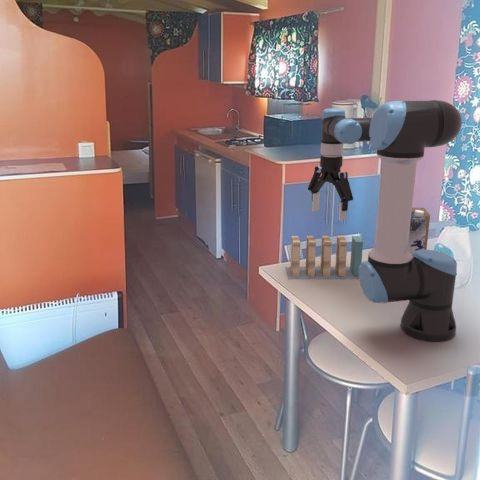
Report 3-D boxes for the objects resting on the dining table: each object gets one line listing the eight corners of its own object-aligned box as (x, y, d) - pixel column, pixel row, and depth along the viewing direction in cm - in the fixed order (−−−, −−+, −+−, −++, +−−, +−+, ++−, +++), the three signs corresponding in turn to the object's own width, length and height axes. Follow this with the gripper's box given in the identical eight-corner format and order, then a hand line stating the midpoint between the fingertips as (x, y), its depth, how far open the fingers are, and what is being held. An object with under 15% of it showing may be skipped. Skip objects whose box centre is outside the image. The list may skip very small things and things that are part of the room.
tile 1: (299, 276, 200) (300, 242, 196) (292, 276, 200) (293, 242, 196) (297, 269, 207) (298, 236, 203) (290, 269, 207) (291, 236, 203)
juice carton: (392, 291, 189) (399, 213, 180) (392, 279, 198) (398, 205, 190) (420, 293, 187) (428, 215, 178) (418, 281, 196) (426, 207, 188)
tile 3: (329, 276, 200) (331, 241, 196) (323, 276, 200) (324, 242, 196) (326, 269, 207) (328, 235, 203) (320, 269, 207) (321, 235, 203)
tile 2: (314, 276, 200) (315, 242, 196) (307, 276, 200) (309, 242, 196) (312, 269, 207) (313, 236, 203) (305, 269, 207) (306, 236, 203)
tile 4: (345, 276, 200) (347, 241, 196) (338, 276, 200) (340, 241, 196) (341, 269, 207) (343, 235, 203) (335, 269, 207) (337, 235, 203)
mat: (378, 279, 198) (378, 278, 198) (288, 280, 198) (288, 279, 198) (370, 267, 210) (370, 266, 210) (285, 268, 209) (285, 267, 209)
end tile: (360, 276, 200) (362, 241, 196) (353, 276, 200) (356, 241, 196) (356, 269, 207) (358, 235, 203) (350, 269, 207) (352, 235, 203)
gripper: (366, 159, 183) (362, 221, 190) (315, 149, 202) (312, 205, 209) (350, 162, 179) (346, 225, 186) (299, 151, 198) (297, 209, 205)
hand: (328, 215), depth 197 cm, fingers open, 13 cm apart
